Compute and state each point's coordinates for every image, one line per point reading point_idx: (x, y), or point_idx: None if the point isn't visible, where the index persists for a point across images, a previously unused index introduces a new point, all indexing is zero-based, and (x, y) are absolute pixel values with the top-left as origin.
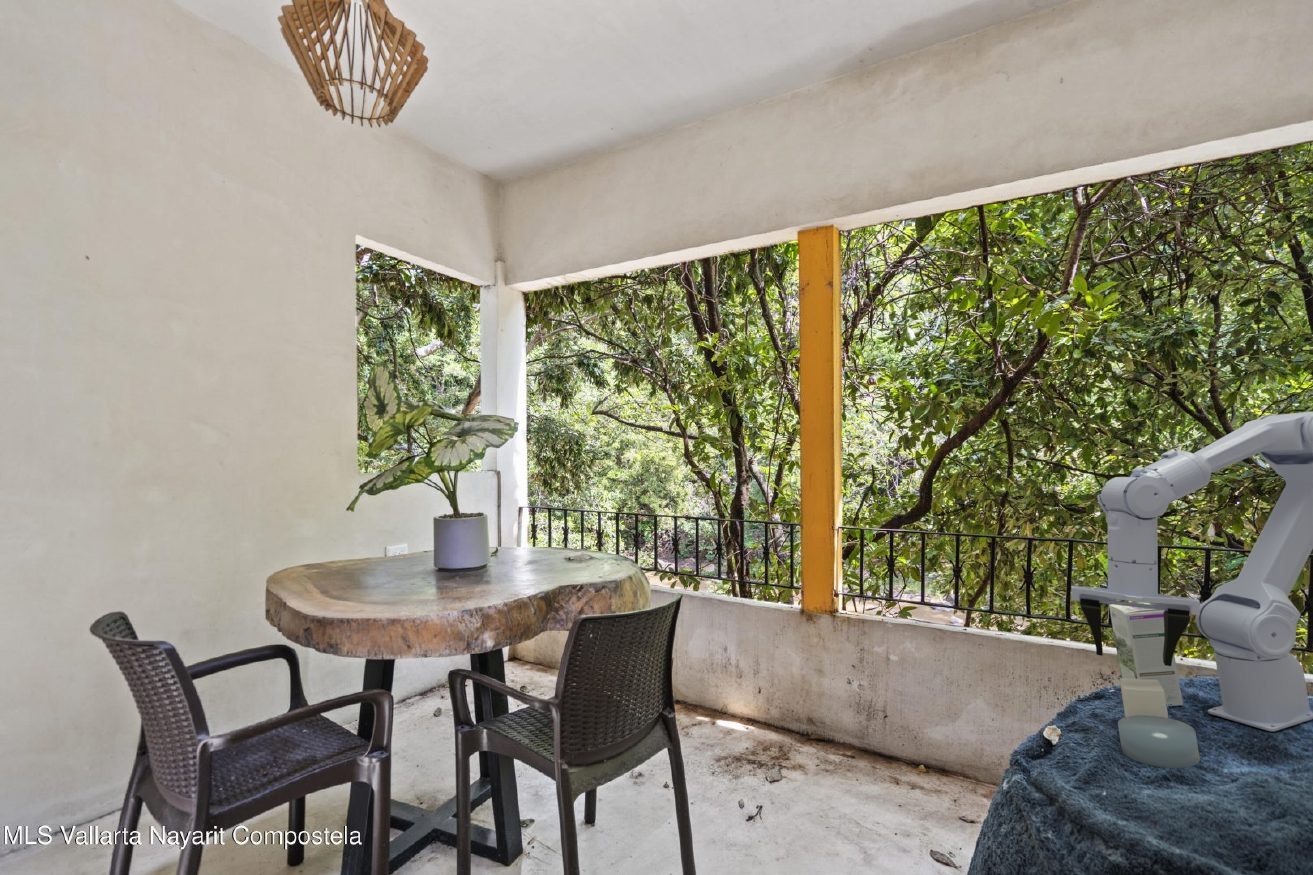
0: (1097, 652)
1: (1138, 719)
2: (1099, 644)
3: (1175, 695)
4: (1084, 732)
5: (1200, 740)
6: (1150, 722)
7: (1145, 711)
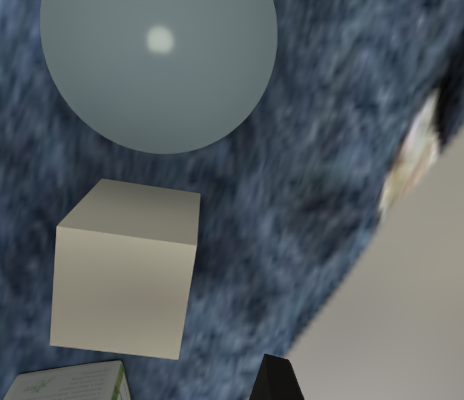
0: (291, 365)
1: (193, 113)
2: (284, 397)
3: (20, 393)
4: (322, 185)
5: (35, 146)
6: (163, 87)
7: (146, 207)
